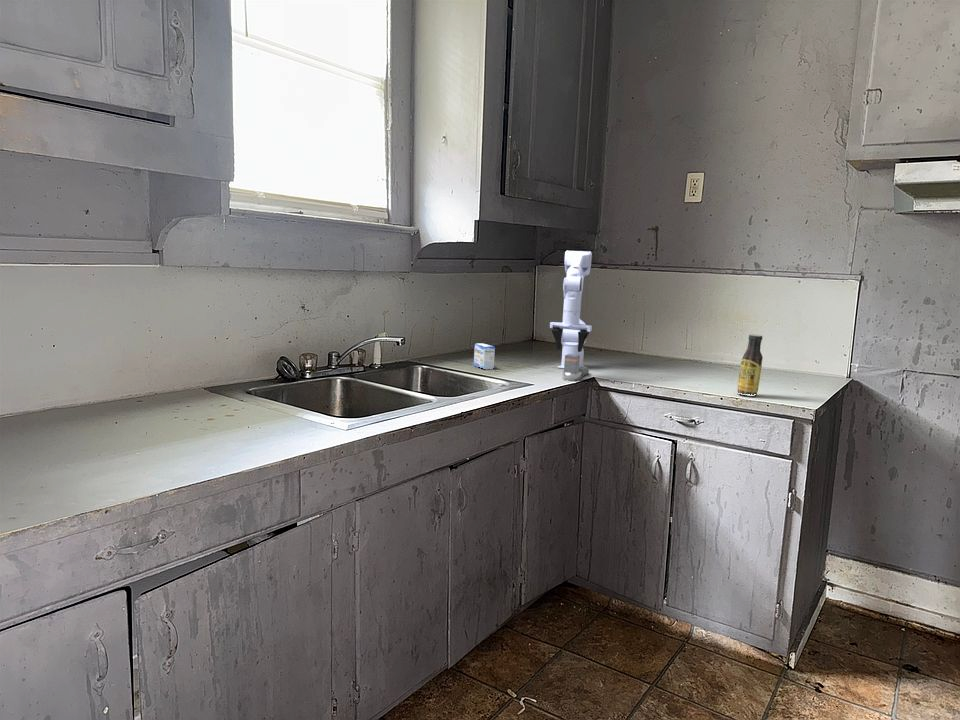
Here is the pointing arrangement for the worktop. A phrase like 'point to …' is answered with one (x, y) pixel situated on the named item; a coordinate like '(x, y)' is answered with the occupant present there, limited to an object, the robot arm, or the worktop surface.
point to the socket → (571, 363)
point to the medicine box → (484, 356)
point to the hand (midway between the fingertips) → (569, 350)
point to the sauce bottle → (751, 366)
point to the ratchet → (575, 376)
